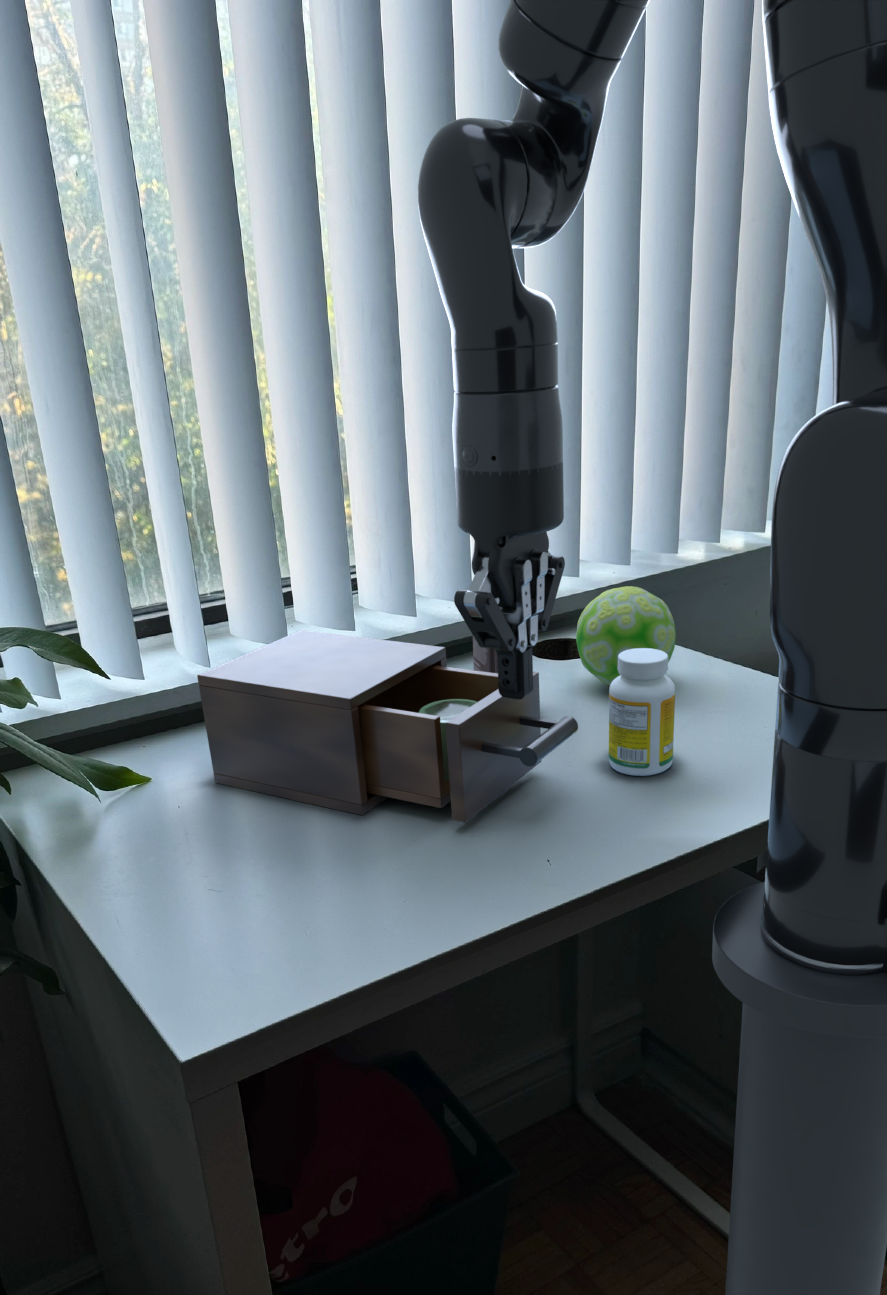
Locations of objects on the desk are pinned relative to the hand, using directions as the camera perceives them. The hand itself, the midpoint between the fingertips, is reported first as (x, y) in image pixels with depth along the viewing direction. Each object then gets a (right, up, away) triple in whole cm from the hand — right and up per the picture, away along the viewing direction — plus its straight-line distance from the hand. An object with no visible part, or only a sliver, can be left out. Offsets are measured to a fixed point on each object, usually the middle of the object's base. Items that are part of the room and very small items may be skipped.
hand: (516, 694), depth 82 cm
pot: (-4, -5, +6) cm, 9 cm away
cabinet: (-15, -5, +13) cm, 21 cm away
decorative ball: (+13, +3, +28) cm, 31 cm away
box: (0, 0, +23) cm, 23 cm away
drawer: (-5, -6, +7) cm, 10 cm away
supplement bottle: (+11, -5, +9) cm, 16 cm away
